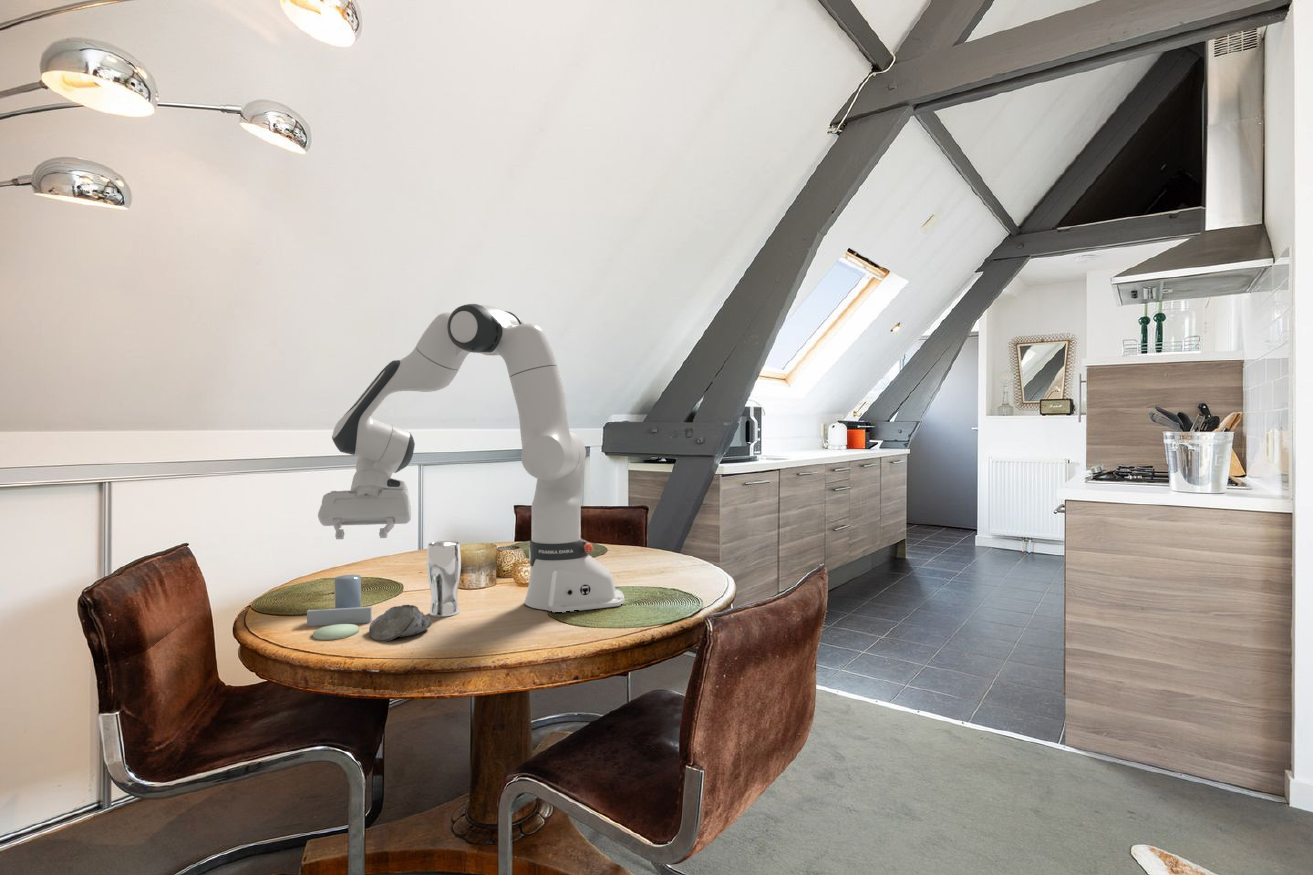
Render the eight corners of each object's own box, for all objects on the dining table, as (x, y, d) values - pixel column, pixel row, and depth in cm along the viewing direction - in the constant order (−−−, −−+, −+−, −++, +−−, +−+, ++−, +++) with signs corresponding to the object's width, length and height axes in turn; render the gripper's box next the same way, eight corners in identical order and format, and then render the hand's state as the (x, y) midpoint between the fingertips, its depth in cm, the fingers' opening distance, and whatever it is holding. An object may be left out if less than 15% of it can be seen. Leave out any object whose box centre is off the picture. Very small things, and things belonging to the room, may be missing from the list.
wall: (371, 621, 136) (371, 606, 136) (370, 622, 135) (370, 607, 135) (308, 624, 134) (308, 609, 133) (307, 626, 133) (306, 611, 132)
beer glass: (451, 618, 137) (450, 547, 137) (420, 616, 139) (420, 545, 139) (467, 609, 144) (466, 541, 144) (438, 607, 146) (437, 540, 145)
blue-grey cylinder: (363, 610, 144) (363, 574, 143) (357, 617, 139) (357, 579, 138) (338, 612, 143) (338, 575, 142) (332, 618, 138) (331, 580, 137)
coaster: (363, 625, 133) (363, 622, 133) (353, 638, 125) (353, 635, 125) (320, 628, 131) (320, 625, 131) (307, 641, 123) (307, 638, 123)
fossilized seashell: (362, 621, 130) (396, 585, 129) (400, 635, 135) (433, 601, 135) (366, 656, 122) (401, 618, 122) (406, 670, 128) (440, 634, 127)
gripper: (321, 483, 157) (309, 530, 148) (412, 481, 161) (405, 527, 152) (327, 499, 162) (315, 546, 152) (415, 497, 166) (408, 543, 157)
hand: (361, 537), depth 152 cm, fingers open, 8 cm apart
